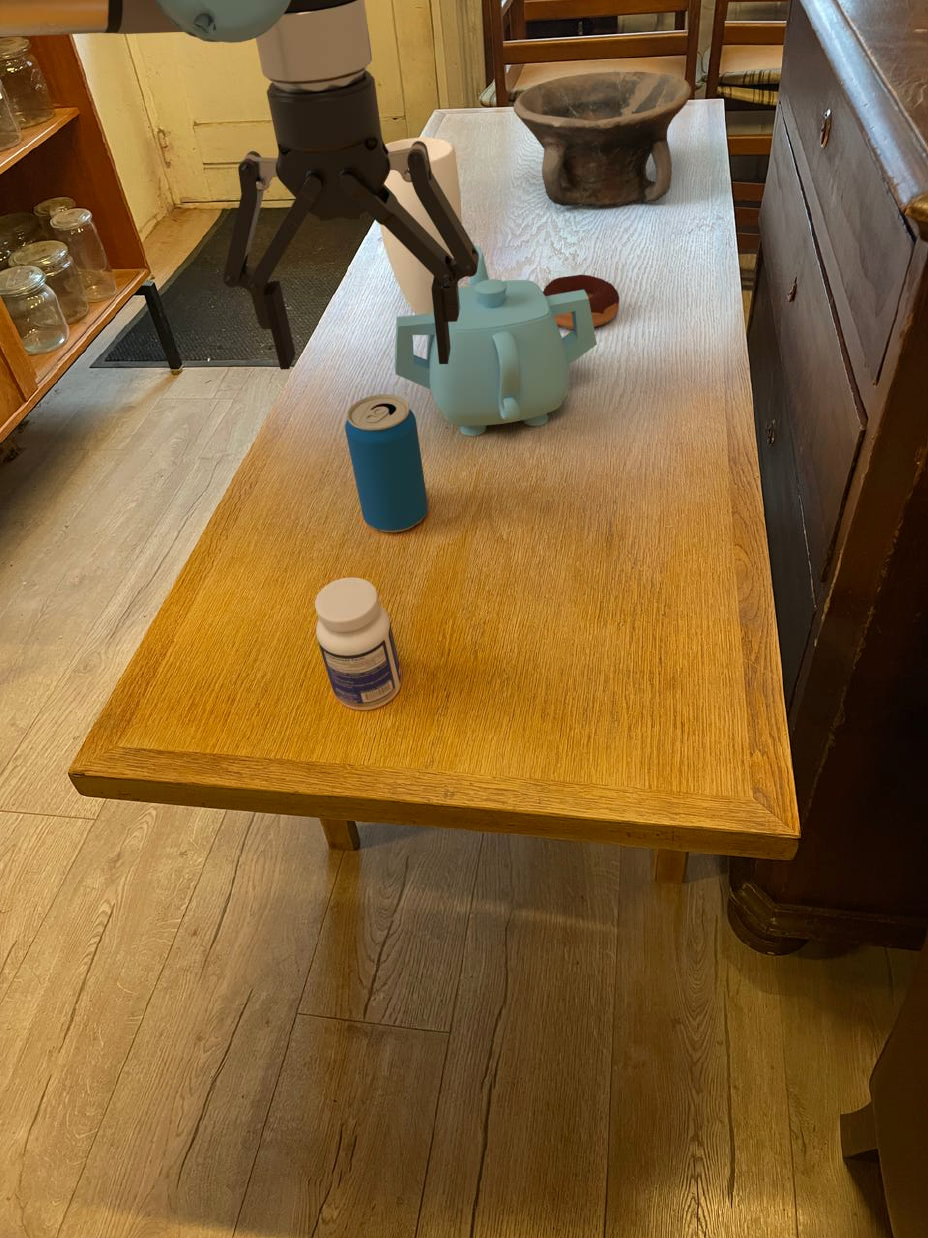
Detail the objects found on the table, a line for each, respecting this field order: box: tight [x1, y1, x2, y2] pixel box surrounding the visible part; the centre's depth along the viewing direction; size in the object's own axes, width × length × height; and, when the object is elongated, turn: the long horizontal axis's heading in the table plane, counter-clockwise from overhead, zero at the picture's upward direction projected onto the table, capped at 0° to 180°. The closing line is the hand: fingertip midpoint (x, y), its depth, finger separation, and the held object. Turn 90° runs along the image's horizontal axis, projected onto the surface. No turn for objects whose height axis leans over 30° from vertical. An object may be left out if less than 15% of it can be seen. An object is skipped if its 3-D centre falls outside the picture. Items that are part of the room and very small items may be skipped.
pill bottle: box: [314, 576, 403, 711], centre depth 69 cm, size 6×6×10 cm
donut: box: [542, 274, 620, 330], centre depth 113 cm, size 10×10×4 cm
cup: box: [379, 137, 463, 315], centre depth 108 cm, size 10×10×22 cm
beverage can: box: [344, 394, 429, 533], centre depth 84 cm, size 6×6×12 cm
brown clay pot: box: [512, 70, 692, 207], centre depth 139 cm, size 27×26×15 cm
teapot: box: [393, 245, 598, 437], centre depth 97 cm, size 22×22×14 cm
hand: (366, 359), depth 76 cm, fingers open, 13 cm apart
